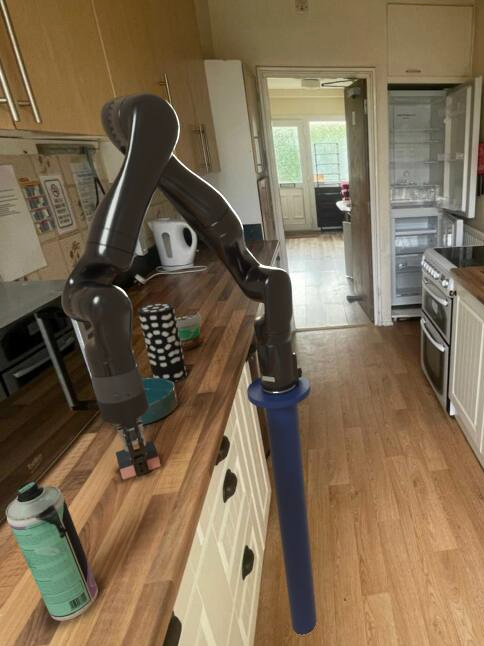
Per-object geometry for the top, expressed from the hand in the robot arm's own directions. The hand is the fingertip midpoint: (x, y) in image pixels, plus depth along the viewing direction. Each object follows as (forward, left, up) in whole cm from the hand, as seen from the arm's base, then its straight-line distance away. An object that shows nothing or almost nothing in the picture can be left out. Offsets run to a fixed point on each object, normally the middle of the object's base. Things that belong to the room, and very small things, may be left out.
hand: (140, 467), depth 83 cm
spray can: (+12, +25, 0) cm, 28 cm away
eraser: (0, 0, 0) cm, 0 cm away
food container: (-22, -55, 0) cm, 59 cm away
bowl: (-4, -22, 0) cm, 22 cm away
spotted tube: (-13, -37, 0) cm, 39 cm away
